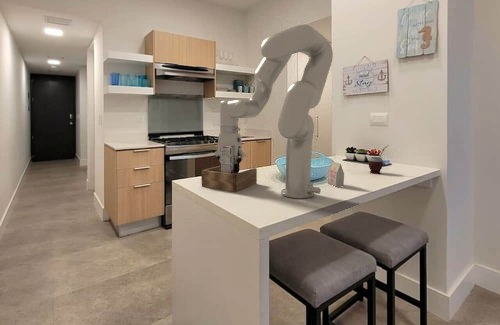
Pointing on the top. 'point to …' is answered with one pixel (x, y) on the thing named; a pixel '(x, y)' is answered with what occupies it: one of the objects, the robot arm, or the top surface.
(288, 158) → the robot arm
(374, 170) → the mate gourd
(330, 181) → the toy house
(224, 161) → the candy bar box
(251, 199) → the top surface
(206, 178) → the walnut crate
